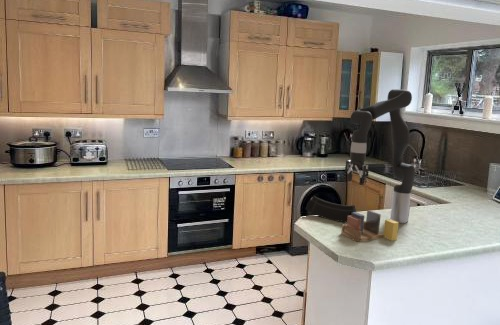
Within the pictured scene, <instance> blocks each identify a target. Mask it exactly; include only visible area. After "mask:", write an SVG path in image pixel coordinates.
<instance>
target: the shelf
mask: <svg viewBox="0 0 500 325" xmlns="http://www.w3.org/2000/svg"><path fill="white" fill-rule="evenodd" d="M365 227H366V220H365V215H364V214H361V213H359V212H357V211H356V212H353V213H352V215H351V216H347V222H346V223H343V224H342V225H341V233H340V235H343V236H345V237H347V238H349V239H350V240H353V241H355V242H356V243H361V242H366V241H371V240H378V239H383V238H384V237H383V234H384V233H383V234H382V233H380V232H379V234H376V233H373V232H371V231H369V230H367V229H365Z"/></svg>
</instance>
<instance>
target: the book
mask: <svg viewBox="0 0 500 325" xmlns="http://www.w3.org/2000/svg"><path fill="white" fill-rule="evenodd" d="M399 224H400V223H399V222H396V221H394V220H391V219H390V218H389V219H385V220H384V225H383V227H384V228H383V238H385V239H387V240H389V241H392V242H393V241H397V239H398V231H399Z"/></svg>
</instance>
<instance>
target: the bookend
mask: <svg viewBox="0 0 500 325" xmlns="http://www.w3.org/2000/svg"><path fill="white" fill-rule="evenodd" d="M381 218H382V216H381V214H380V213H377V212H375V211H372V210H367V211H366V218H365V219H366V220H365V221H366V227H365V229H367V230H369V231H371V232H373V233H376V234H379V233H380V225H381Z"/></svg>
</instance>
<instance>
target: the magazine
mask: <svg viewBox="0 0 500 325" xmlns="http://www.w3.org/2000/svg"><path fill="white" fill-rule="evenodd" d="M305 210H306V211H308V212H309V213H310V215H315V216H318V217H321V218H323V219H327V220H331V221H335V222H343V223H347V216H351V215H352V213H353V212H357V210H356V206H355V205H354V204H352V205H346V204H338V203H333V202H330V201H327V200H324V199H322V198H320V197H317V196H316V195H313V196H312V197H311V198H310V200H309V201H307V203H306V206H305Z"/></svg>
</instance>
